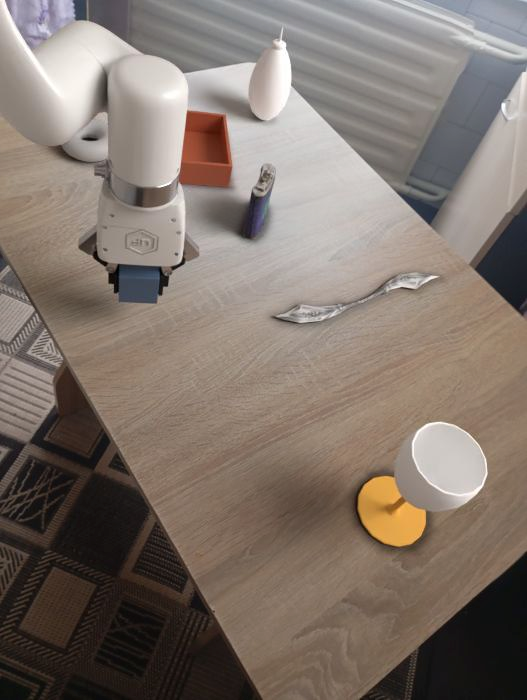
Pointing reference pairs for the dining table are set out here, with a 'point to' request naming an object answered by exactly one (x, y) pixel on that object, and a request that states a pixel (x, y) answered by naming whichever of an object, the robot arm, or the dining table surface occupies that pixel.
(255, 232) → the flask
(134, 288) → the block
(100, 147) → the donut
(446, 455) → the cup
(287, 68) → the sauce bottle
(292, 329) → the dining table surface
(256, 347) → the dining table surface
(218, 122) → the bin
